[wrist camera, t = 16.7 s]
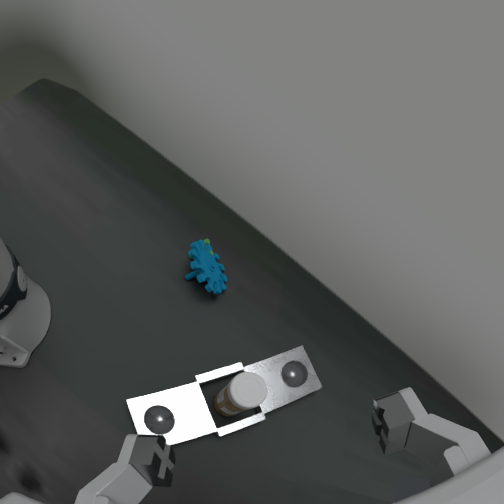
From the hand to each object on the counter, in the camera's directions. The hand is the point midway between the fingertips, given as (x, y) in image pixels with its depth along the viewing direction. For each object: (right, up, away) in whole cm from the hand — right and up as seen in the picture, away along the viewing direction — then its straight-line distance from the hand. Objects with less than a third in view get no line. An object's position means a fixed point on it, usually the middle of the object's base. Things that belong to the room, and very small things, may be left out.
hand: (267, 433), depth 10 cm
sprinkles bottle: (-4, -17, +33) cm, 38 cm away
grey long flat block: (-4, -16, +33) cm, 37 cm away
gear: (-9, +2, +46) cm, 47 cm away
